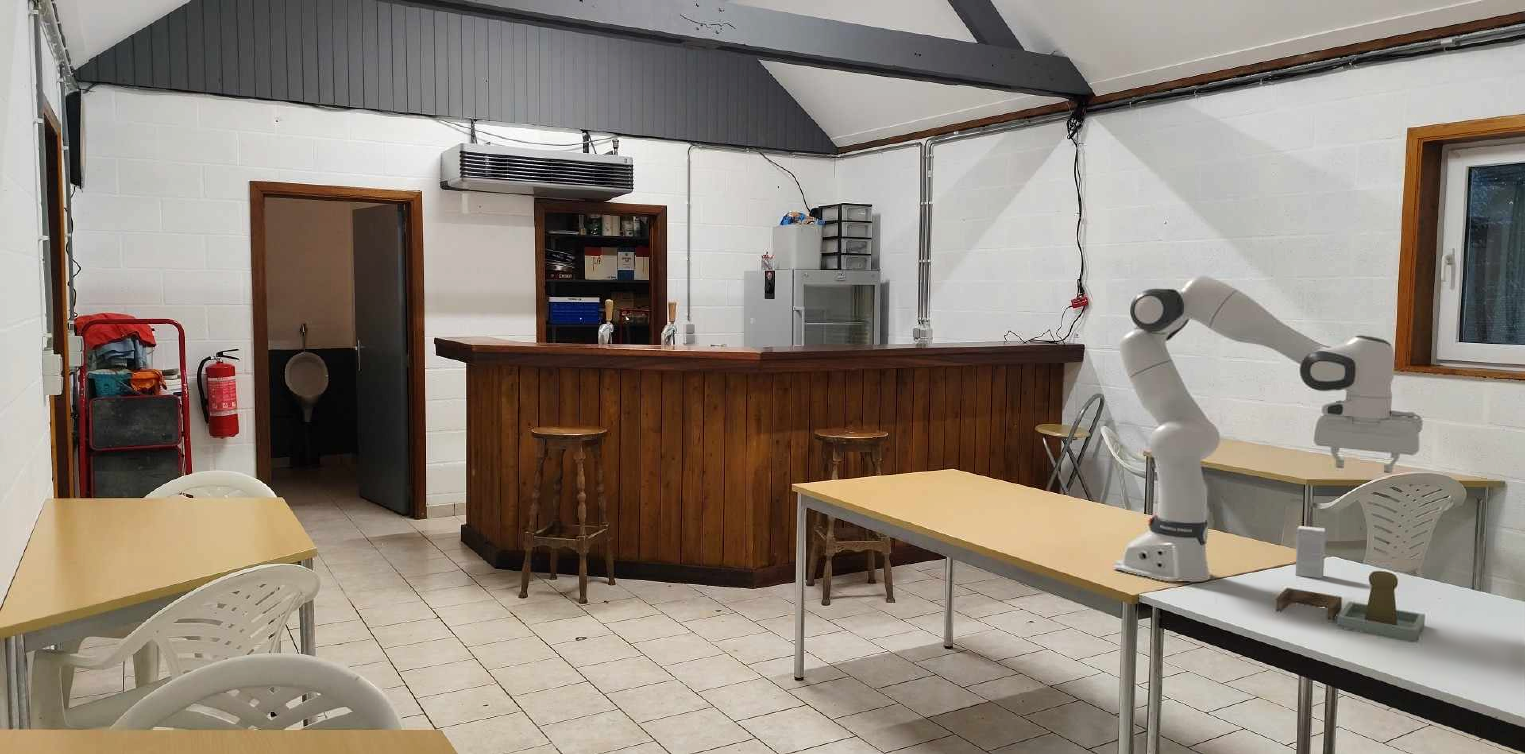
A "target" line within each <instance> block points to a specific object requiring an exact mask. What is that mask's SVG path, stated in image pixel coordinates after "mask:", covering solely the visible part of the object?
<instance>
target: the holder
mask: <svg viewBox="0 0 1525 754" xmlns="http://www.w3.org/2000/svg"><path fill="white" fill-rule="evenodd" d="M1342 601H1343V597H1342V596H1339V595H1332V594H1327V593H1321V592H1320V593H1319V592H1315V591H1308V590H1303V589H1296V588H1292V587H1291V588H1290V587H1286V588H1285V589H1284V590H1283V591H1282V592H1281V593H1280V594H1279V595H1277V597H1276V602H1275V612H1278V611H1280V612H1279V613H1281V612H1282V611H1283V610H1285V608H1287V606H1289V604H1296V603H1298V605H1302V604H1303V606H1307V605H1309V606H1308V607H1313V606H1314V608H1319V607H1325V608H1328V609H1327V618H1326V621H1327V620H1332V621H1331V622H1333V621H1334V620H1335V619H1336V618H1337V616H1338V615H1339V614H1340V613H1341V611H1342V604H1343V602H1342ZM1340 610H1341V611H1340ZM1339 612H1340V613H1339ZM1338 613H1339V614H1338ZM1337 614H1338V615H1337ZM1336 615H1337V616H1336ZM1335 617H1336V618H1335ZM1334 618H1335V619H1334ZM1333 619H1334V620H1333Z"/></svg>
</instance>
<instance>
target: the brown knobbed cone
mask: <svg viewBox="0 0 1525 754" xmlns="http://www.w3.org/2000/svg"><path fill="white" fill-rule="evenodd" d="M1368 582H1369V584H1370V586H1371V587H1370V592H1369V595H1368V600H1367V610H1366V614H1365V619H1364V620H1368V621H1374V622H1380V623H1385V624H1391V625H1396V626H1398V624H1397V614H1396V610H1397V607H1396V606H1397V605H1396V594H1395V593H1396V592H1395V589H1396V588H1397V587H1398V584H1399V579H1398V577H1397V576H1396V575H1395V574H1394V573H1392V572H1389V571H1383V570H1375V571H1371V573H1370V574H1369V576H1368Z"/></svg>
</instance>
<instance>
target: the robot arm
mask: <svg viewBox="0 0 1525 754" xmlns="http://www.w3.org/2000/svg"><path fill="white" fill-rule="evenodd" d="M1129 311H1130V312H1129V313H1130V317H1131V320H1132V322H1133V323H1134V324H1135V327H1134V328H1133V329H1132V330H1129V331H1128V332H1126V333H1125V334H1124V335H1123V337H1121V339H1120V341H1119V344H1118V345H1119V351H1120V355H1121V360H1122V363H1123V365H1124V368H1125V371H1126V373H1127V375H1128V378H1129V380H1130V382H1131V385H1132V386H1133V389H1134V392H1135V393H1136V395H1137V397H1138V400H1139V401H1140V404H1141V406H1142V407H1143V409H1144V410H1145V411H1147V412H1148V413H1149V414H1150V415H1151V416H1152V418H1153V419H1154V420H1155V421H1156V423H1157V424H1158V427H1157V428H1156V429H1155V430H1154V431H1152V433H1151V435H1150V436H1149V439H1148V449H1149V452H1150V454H1151V456H1152V457H1153V459H1154V465H1155V470H1156V475H1157V484H1158V498H1157V499H1158V501H1157V503H1158V504H1157V505H1158V506H1157V513H1156V514H1154V515H1152V517H1151V518H1149V520H1148V521H1147V526H1149V530H1147V531H1145V532H1144V533H1142V534H1140V535H1139V536H1137V537H1135V538H1133V539H1132V540H1131V541H1129V542H1128V543H1127V544H1126V547H1125V550H1124V552H1123V556H1122V557H1123V558H1120V559H1118V560H1116V561H1115V562H1114V564H1113V567H1114V568H1116V569H1119V570H1122V571H1125V572H1124V573H1126V572H1132V573H1136V574H1139V575H1142V576H1141V577H1143V576H1149V577H1153V578H1157V579H1161V580H1167V581H1179V580H1182V581H1190V582H1189V583H1193V582H1194V583H1197V582H1198V583H1199V582H1204V581H1209V580H1210V579H1211V574H1210V571H1209V570H1210V569H1209V566H1208V558H1207V550H1206V549H1207V548H1206V547H1207V546H1206V544H1207V543H1208V542H1207V541H1208V535H1209V534H1208V533H1209V528H1208V520H1207V505H1208V504H1207V500H1208V498H1207V497H1208V489H1207V486H1206V484H1205V481H1204V478H1203V472H1202V471H1203V470H1202V465H1201V463H1202V460H1206V459H1208V458H1209V457H1210V456H1211V455H1212V454H1214V453H1215V451H1216V450H1217V448H1218V447H1219V445H1220V440H1221V439H1220V438H1221V437H1220V432H1219V430H1218V428H1217V426H1216V425H1215V424H1214V423H1213V422H1212V421H1210V420H1209V419H1208V417H1207V416H1206V415H1205V413H1204V412H1203V410H1202V409H1201V408H1200V406H1199V405H1198V403H1197V401H1196V400H1195V399H1194V398H1193V397H1192V395H1191V393H1190V392H1189V391H1188V389H1187V387H1186V386H1185V383H1184V382H1183V379H1182V377H1181V375H1180V373H1179V371H1178V370H1177V367H1176V365H1175V363H1174V361H1173V359H1172V356H1171V355H1170V353H1169V351H1168V348H1167V345H1166V342H1167V341H1170V340H1171V339H1173V337H1174V336H1176V334H1178V333H1179V332H1181V330H1182V329H1183V328H1184V327H1186V325H1187V324H1188V323H1189V321H1190V320H1192V321H1193V320H1194V321H1196V322H1198V323H1200V324H1202V325H1204V326H1205V327H1206V328H1208V329H1210V330H1211V331H1213V332H1214V333H1216V334H1218V335H1220V336H1222V337H1225V338H1226V339H1229V340H1232V341H1234V342H1237V343H1244V344H1251V345H1252V344H1253V345H1258V346H1261V347H1266V348H1269V349H1272V350H1273V351H1276V352H1277V353H1279V354H1281V355H1283V356H1285V357H1286V358H1288V359H1290V360H1291V361H1293V362H1295V363H1297V364H1298V365H1300V367H1299V375H1300V378H1301V380H1302V382H1303V383H1304V384H1305V385H1306V386H1307V387H1308V388H1310V389H1313V390H1314V391H1318V392H1333V391H1343V390H1344V391H1345V398H1344V400H1337V401H1335V402H1329V403H1325V404H1324V405H1322V408H1321V413H1322V414H1323V415H1321V416H1320V417H1318V419H1317V421H1316V426H1315V429H1314V433H1313V442H1314V444H1315V445H1316V446H1319V447H1326V448H1327V447H1328V448H1330V453H1331V455H1332V457H1333V458H1334V460H1335V468H1337V469H1344V468H1345V464H1344V463H1345V459H1341V457H1340V455H1339V454H1338V453H1339V452H1340V449H1346V450H1347V449H1348V450H1356V451H1357V450H1359V451H1368V452H1375V453H1376V452H1377V453H1385V454H1386V453H1388V454H1390V458H1391V459H1392V461H1390V463H1389V464H1386V463H1385V464H1384V465H1383V473H1385V474H1393V470H1394V465H1395V464H1396V463H1397V462H1398V460H1399V459H1400V456H1401V455H1409V456H1414V455H1416V454H1417V453H1418V452H1419V451H1420V433H1421V432H1422V430H1423V419H1422V417H1421V416H1420V415H1418V414H1416V413H1415V412H1412V411H1408V412H1407V411H1406V412H1405V411H1400V410H1399V411H1398V410H1392V403H1393V394H1392V389H1391V387H1392V382H1393V380H1394V377H1395V376H1394V374H1395V353H1394V347H1393V345H1392V344H1391V343H1390V342H1389V341H1387V340H1385V339H1383V338H1379V337H1373V336H1368V335H1355V336H1353V337H1352V338H1351V339H1348V340H1346V341H1344V342H1342V343H1340V344H1337V345H1336V344H1335V345H1334V346H1330V345H1329V346H1328V345H1324V344H1321V343H1319V342H1316V341H1315V340H1313V339H1311V338H1310V337H1308V336H1306V335H1304V334H1302V333H1301V332H1299V331H1297V330H1295V329H1293V328H1291V327H1290V326H1288V325H1286V324H1284V323H1283V322H1282V321H1281V320H1279V319H1278V318H1277V317H1275V316H1274V315H1273V314H1272V313H1271V312H1269V311H1268V310H1266V308H1265V307H1263V306H1262V305H1260V304H1259V303H1258V302H1256V301H1255V300H1254V299H1253V298H1251V296H1248V295H1246V293H1245V292H1242V291H1241V290H1239V289H1237V288H1235V287H1233V286H1231V285H1228V284H1227V283H1225V282H1222V281H1220V280H1218V279H1216V278H1212V277H1210V276H1206V275H1195V276H1194V277H1193V278H1191V279H1189V280H1188V281H1187V282H1186V283H1185V284H1184V285H1183V287H1182V288H1181V289H1180V290H1178V291H1177V289H1175V288H1151V289H1146V290H1144V291H1141V292H1140V293H1139V294H1137V295H1136V296H1135V297H1134V298H1133V300H1132V302H1131V304H1130V308H1129ZM1114 568H1113V569H1114ZM1139 575H1138V576H1139ZM1161 580H1160V581H1161Z"/></svg>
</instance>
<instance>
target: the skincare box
mask: <svg viewBox="0 0 1525 754" xmlns="http://www.w3.org/2000/svg"><path fill="white" fill-rule="evenodd" d="M1296 529H1297V530H1296V531H1297V535H1296V558H1295V560H1296V561H1295V576H1297V577H1298V576H1299V577H1307V578H1315V579H1321V580H1322V579H1323V578H1324V572H1325V571H1324V568H1325V551H1326V550H1325V546H1326V545H1325V543H1326V528H1323V527H1313V526H1303V525H1299V526H1298V527H1297V528H1296Z"/></svg>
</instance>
